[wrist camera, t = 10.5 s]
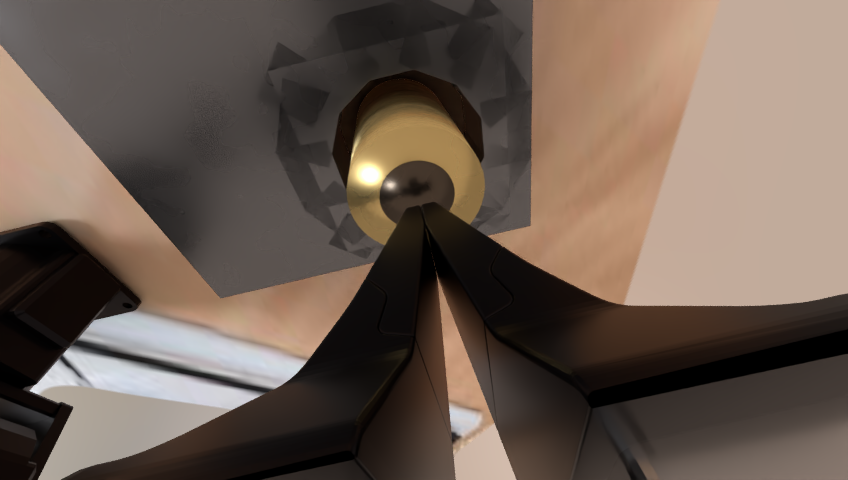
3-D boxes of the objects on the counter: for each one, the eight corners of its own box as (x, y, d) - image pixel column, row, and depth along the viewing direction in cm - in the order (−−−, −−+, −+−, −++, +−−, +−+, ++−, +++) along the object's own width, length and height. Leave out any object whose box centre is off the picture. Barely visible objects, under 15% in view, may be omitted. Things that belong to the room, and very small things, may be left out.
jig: (243, 255, 19) (220, 298, 16) (-51, -155, 9) (-230, -221, 7) (507, 192, 19) (531, 225, 16) (487, -297, 9) (538, -429, 6)
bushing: (371, 177, 17) (370, 263, 12) (343, 91, 15) (324, 147, 9) (451, 158, 17) (490, 235, 11) (437, 68, 14) (478, 110, 9)
